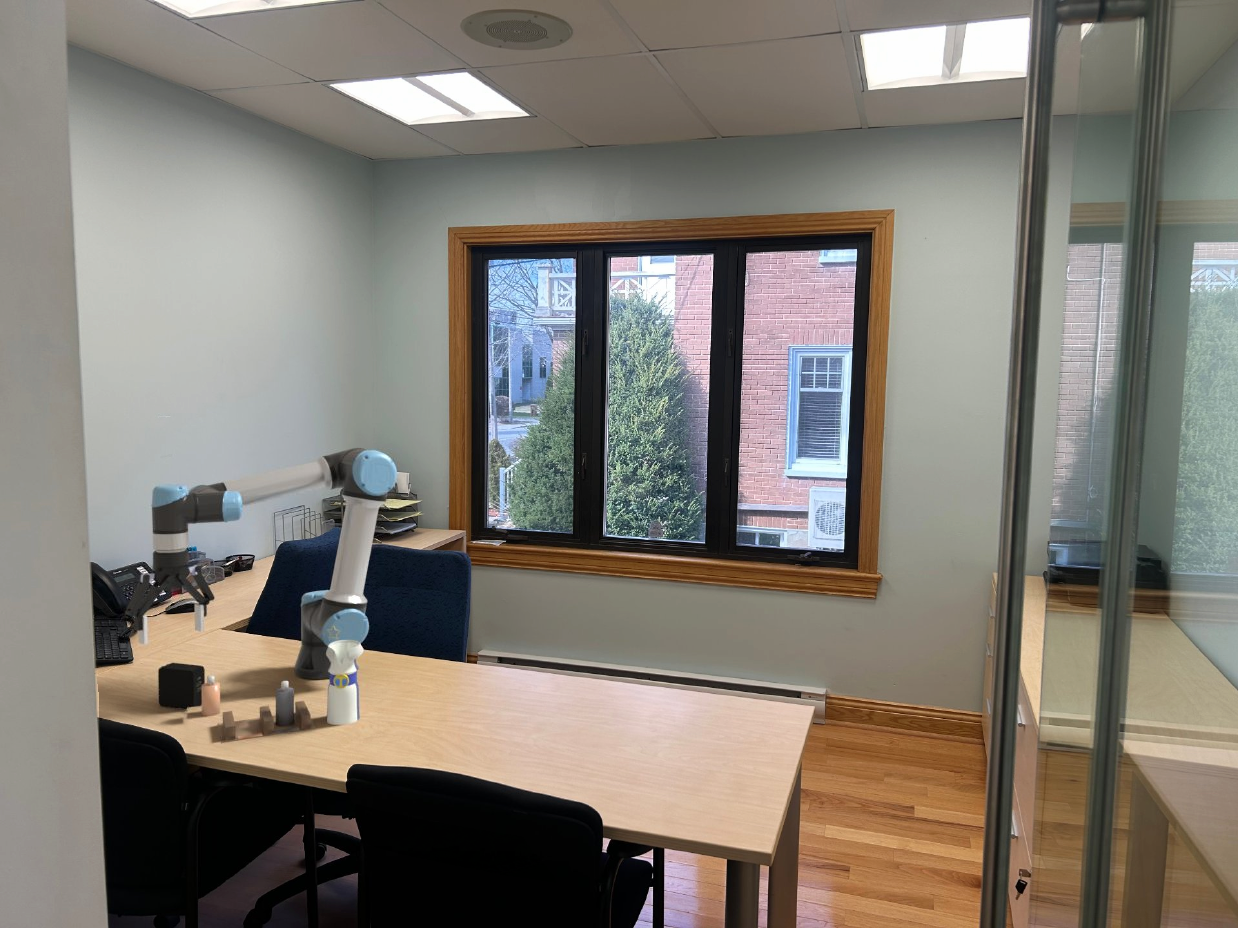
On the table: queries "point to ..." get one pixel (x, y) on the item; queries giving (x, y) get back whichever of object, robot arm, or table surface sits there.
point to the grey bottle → (284, 705)
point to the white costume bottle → (343, 680)
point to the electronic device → (180, 685)
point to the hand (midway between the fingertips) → (172, 636)
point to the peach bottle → (210, 697)
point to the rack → (263, 724)
